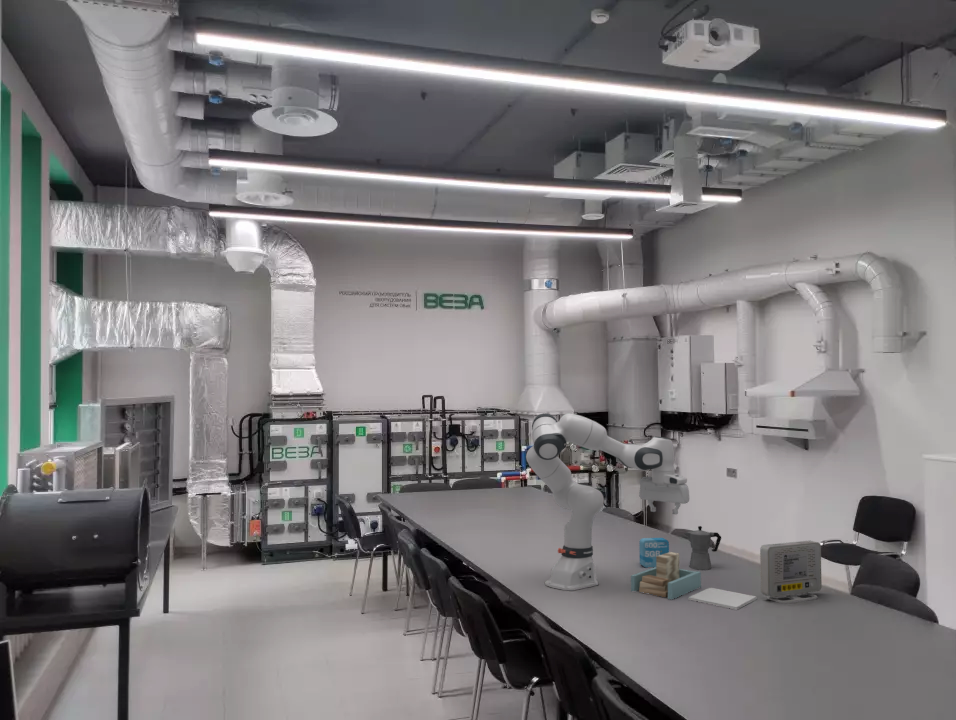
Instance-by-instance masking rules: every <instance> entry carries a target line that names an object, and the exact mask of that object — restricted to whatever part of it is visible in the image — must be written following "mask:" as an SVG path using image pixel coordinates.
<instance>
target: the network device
mask: <svg viewBox="0 0 956 720" xmlns="http://www.w3.org/2000/svg"><path fill="white" fill-rule="evenodd" d="M759 549H760V553H759V554H760V592H761V594H762V595H764V596H766V597H767V600H770V601H772V602H775V603H779V604H789V603H795V602H796V603H797V602H804V601H806V602H807V601H813V600H817V599H818V596H817V595H816V594H813V593H816V592H820V591H821V590H822V583H823V582H822V545H821V543H820V542H817V541H813V540H803V541H791V542H781V543H771V544H763V545H761V546H760V548H759ZM801 594H802V595H806V596H808V597H800V596H798V595H801ZM776 597H783V598H784V597H785V598H787V600H781V599H779V598H778V599H777V598H776Z"/></svg>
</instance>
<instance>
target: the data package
mask: <svg viewBox="0 0 956 720" xmlns="http://www.w3.org/2000/svg"><path fill="white" fill-rule="evenodd" d="M638 546H639V549H638V550H639V565H641V566H642V567H643V568H645V569H649V568H648V567H656V556H659V555H662V554H665V553H668V552H670V542H669V540H667V539H666V538H665V537H643V538H640V539H639V545H638Z"/></svg>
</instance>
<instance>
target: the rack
mask: <svg viewBox="0 0 956 720" xmlns="http://www.w3.org/2000/svg"><path fill="white" fill-rule="evenodd" d="M701 574H702V572H701V571H700V570H694V571H693V570H689V569H688V570H687V569H682V568H679V576H680V578H679V579H676V580H674V581H671V582H669V583H668V597H667V600H669V599H671V600H670V601H673V600H675V599H677V597H678V598H680V597H682V596H684V595H687V594H689V593H691V592H693V590H694V591H695V589H696V590H698V589H700V588H701V587H702V575H701ZM646 575H652V576H656V567H654V568H647V569H645V570H643V571H639V572H638V573H634V574H632V575H630V592H632V591H636V592H638V591H637V590H639V587H640V582H641V581H642V577H643V576H646ZM699 587H700V588H699ZM697 588H698V589H697ZM690 591H691V592H690ZM688 592H689V593H688ZM686 593H687V594H686ZM681 595H682V596H681ZM679 596H680V597H679ZM674 598H675V599H674ZM672 599H673V600H672Z"/></svg>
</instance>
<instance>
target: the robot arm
mask: <svg viewBox="0 0 956 720" xmlns="http://www.w3.org/2000/svg"><path fill="white" fill-rule="evenodd" d="M531 437H532V443H533V445H532V446H531V447H530V448H528V450H527V452H526V456H525V458H526V462H527V463H528V466H529V467H530V468H531V469H532V471H533V472H534V473H535V475H536V476H537V477H538V478H539V479H540V481H542V482H543V483H544V484H545V485H546V486H547V487H548V489H549V490H550V491H551V493H552V499H553V501H554V503H555V504H556V505H558V506H559V507H561V508H563V509H565V510H568V511H571V514H570V518H569V521H567V522H566V523H565V524H564V528H563V532H564V533H563V534H564V535H563V537H564V538H563V539H564V541H563V546H562V548H560V547H558V549H557V553H558V554H560V555H561V556H560V558H559V559H558V560H557V562H556V563H555V564H554V566H553V567H552V568H551V571H550V578H549V579H548V580H546V581H545V582H544V586H546V587H549V588H553V589H557V590H563V591H578V590H580V589H581V590H583V589H586V588H590V587H596V586H599V581H598V580H597V575H596V574H597V572H596V564H595V562H594V560H593V555H594V547H593V545H592V541H593V540H592V539H593V538H592V537H593V536H592V535H593V524H594V521H595V518H596V516H597V514H598V513H599V512H600V511H601V510H602V509H603V506H604V502H605V499H604V495H603V493H602V492H601V491H600V490H599V489H597V488H595V487H594V486H591V485H585V484H580V483H577V482H576V481H574V480H573V477H572V472H571V469H570V468H569V467H568V466H567V465H566V464H565V462H564V461H562V460H561V458H560V457H558V456H560V454H561V453H562V452H563V451H564V450H565V448H566V447H567V445H568V444H567V443H569V442H570V443H573V444H575V445H577V446H579V447H582V448H584V449H587V450H591V451H602V452H603V453H607V454H608V455H611V456H612V457H614V458H616V459H617V460H619V461H620V462H621V464H622V465H623V466H624V467H626V468H628V469H635V470H638V471H650V470H651V476H646V475H643V476H642V477H641V478H640V479H639V493H638V494H639V495H638V496H639V497H638V498H639V499H640V500H644V501H645V500H646V501H647V504H648V506H649V508H650V513H651V512H653V513H655V512H657V507H656V506H655V505H654V504H653V503H654V501H655V502H663V503H664V502H665V503H673V504H674V506H675V507H674V509H672V510H671V511H672V515H678V514H679V509H680V507H681V505H683V504H688V503H689V502H690V489H689V486H688V485H687V482H688V478H687V477H685V476H683V475H680V474H678V473H677V472H676V471H675V470H676V469H675V467H674V466H675V465H674V462H675V447H674V442H673V440H671V438H668V437H664V436H653V437H652V438H651V439H650V440H649V441H647V442H646V443H643V444H636V443H633V442H632V443H630V442H629V443H624V442H621V441H620V440H617V439H614V438H613V437H611V436H609V435H608V432H607V429H606V428H605V427H604V425H602V424H600V423H599V422H597V421H595V420H592V419H590V418H588V417H585V416H583V415H579V414H575V413H569V412H567V413H565V414H563V415H562V416H561V417H560V419H559V420H557V419H556V417H555V416H553V415H552V414H551V413H545V412H544V413H539V414H538V415H537V416H535V417H534V419H533V421H532V425H531Z"/></svg>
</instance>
